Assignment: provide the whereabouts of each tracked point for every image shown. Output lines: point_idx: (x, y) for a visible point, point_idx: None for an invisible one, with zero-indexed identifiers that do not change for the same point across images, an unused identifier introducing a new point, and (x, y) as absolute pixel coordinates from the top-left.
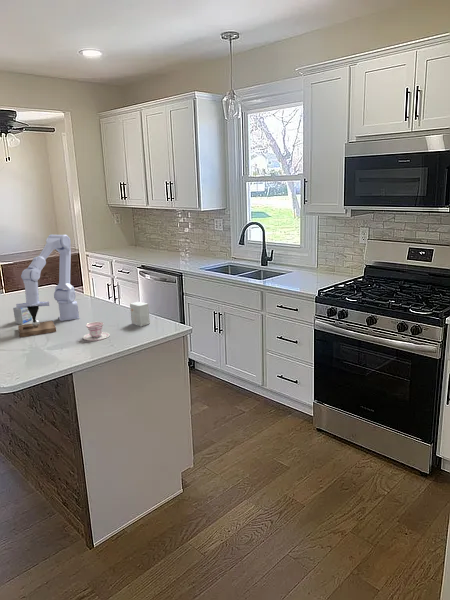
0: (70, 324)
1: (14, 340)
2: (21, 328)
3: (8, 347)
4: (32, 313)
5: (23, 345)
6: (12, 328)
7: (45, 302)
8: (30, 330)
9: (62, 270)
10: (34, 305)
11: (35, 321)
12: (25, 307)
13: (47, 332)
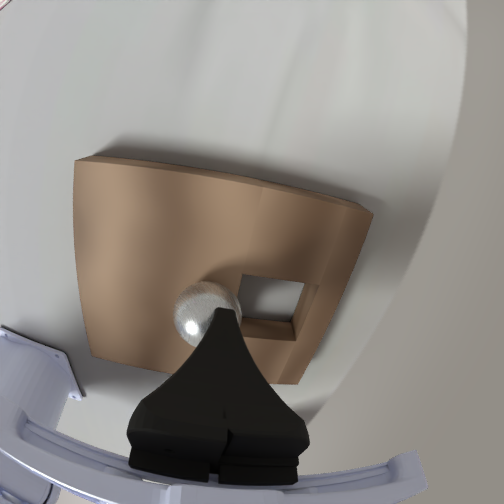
0: (15, 267)
1: (406, 160)
2: (312, 322)
3: (454, 62)
4: (241, 380)
5: (390, 13)
6: (308, 388)
7: (14, 458)
8: (283, 224)
9: None
10: (203, 492)
11: (212, 314)
12: (318, 475)
13: (153, 162)
